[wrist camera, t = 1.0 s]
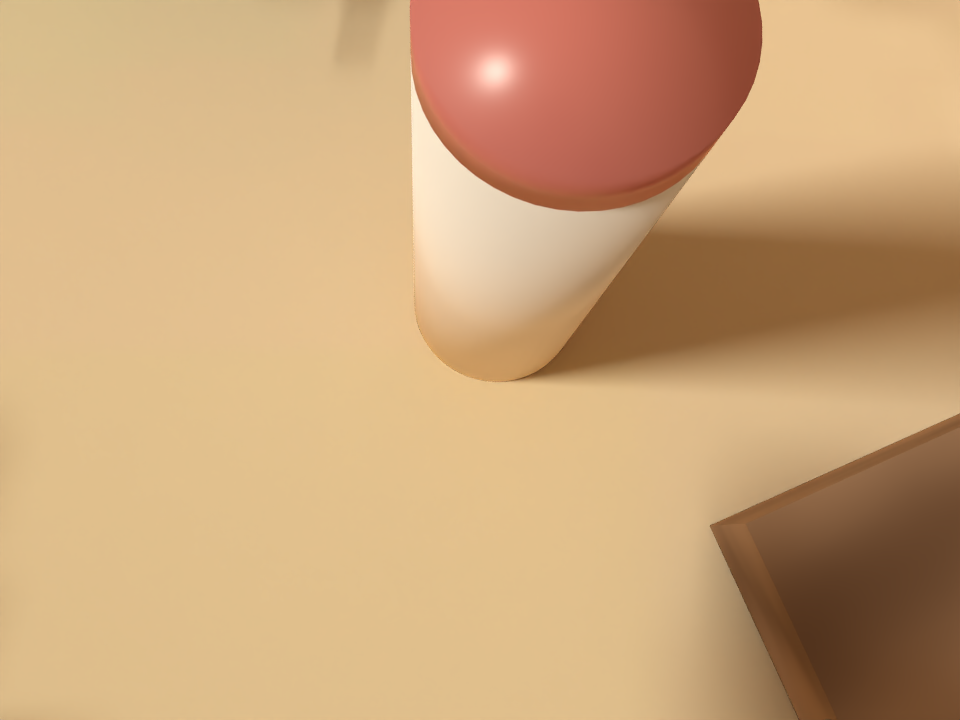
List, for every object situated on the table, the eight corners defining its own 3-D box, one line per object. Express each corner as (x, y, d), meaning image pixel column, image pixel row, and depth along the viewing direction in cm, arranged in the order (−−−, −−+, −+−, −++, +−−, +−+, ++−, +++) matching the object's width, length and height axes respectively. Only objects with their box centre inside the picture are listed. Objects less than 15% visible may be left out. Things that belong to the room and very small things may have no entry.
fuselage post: (600, 346, 23) (823, 110, 10) (450, 406, 22) (494, 230, 10) (536, 204, 24) (670, -174, 11) (389, 258, 23) (356, -82, 11)
